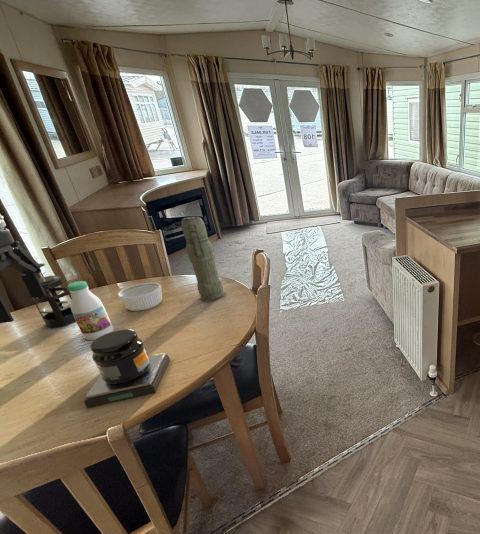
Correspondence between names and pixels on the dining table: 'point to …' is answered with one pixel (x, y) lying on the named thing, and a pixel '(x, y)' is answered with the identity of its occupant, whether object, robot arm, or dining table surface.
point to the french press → (55, 303)
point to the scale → (132, 392)
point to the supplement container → (120, 356)
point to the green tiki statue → (202, 258)
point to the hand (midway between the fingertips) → (23, 308)
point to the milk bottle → (89, 312)
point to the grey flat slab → (141, 381)
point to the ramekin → (141, 296)
